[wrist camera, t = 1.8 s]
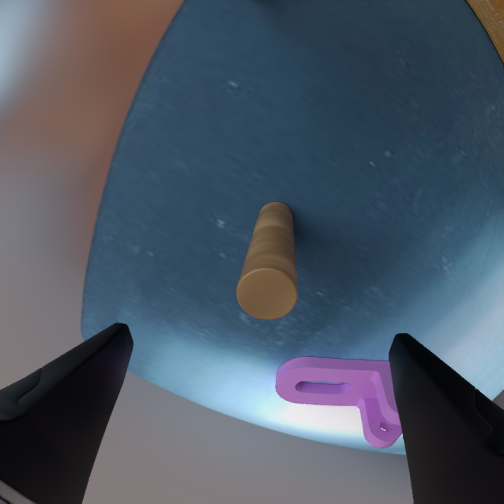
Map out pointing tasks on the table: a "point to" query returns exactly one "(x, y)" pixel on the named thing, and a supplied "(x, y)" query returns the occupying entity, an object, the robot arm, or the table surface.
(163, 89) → the table surface
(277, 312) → the stirring stick
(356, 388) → the bracket
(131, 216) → the table surface
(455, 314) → the table surface
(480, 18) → the small box
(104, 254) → the table surface
